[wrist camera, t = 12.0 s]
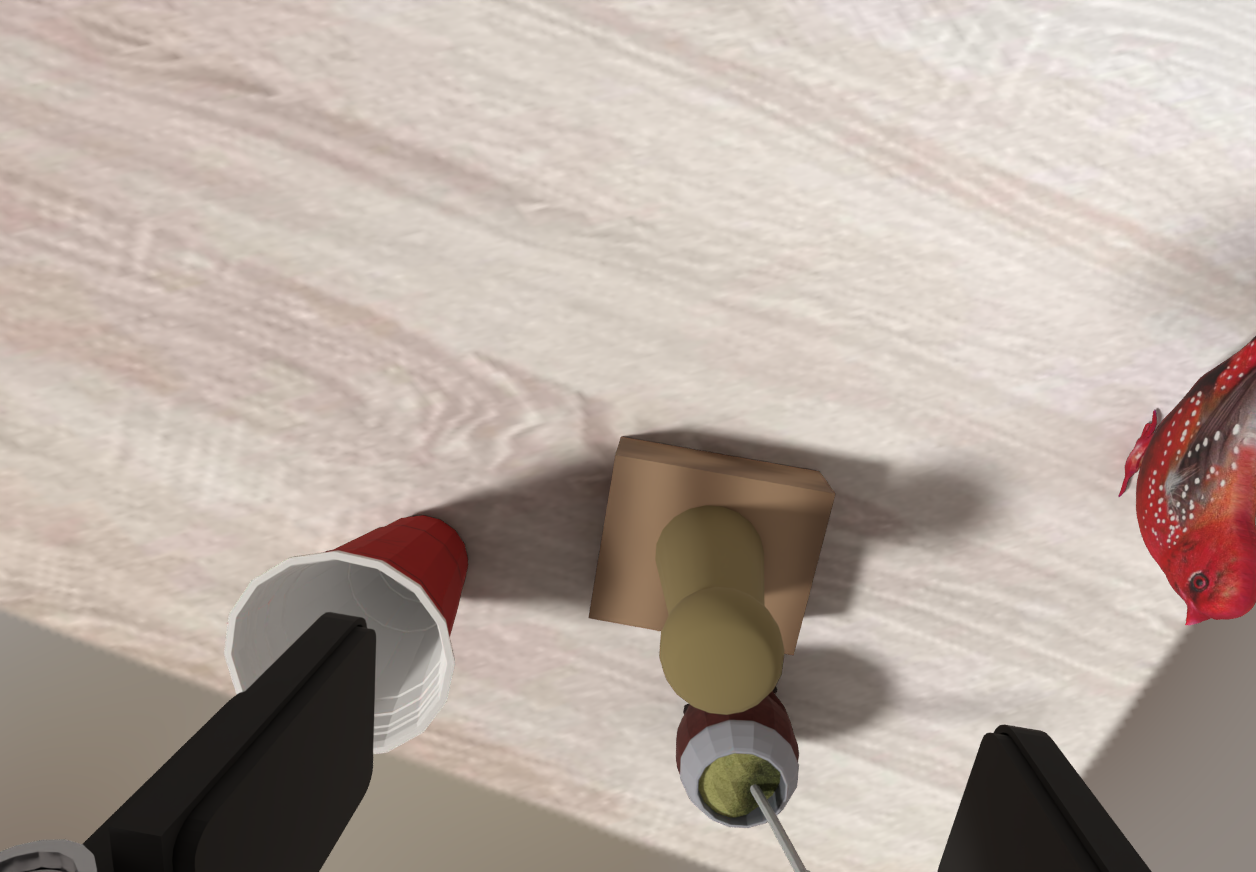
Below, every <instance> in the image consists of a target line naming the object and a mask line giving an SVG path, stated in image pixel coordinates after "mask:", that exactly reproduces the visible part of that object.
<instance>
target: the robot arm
mask: <svg viewBox="0 0 1256 872" xmlns="http://www.w3.org/2000/svg"><path fill="white" fill-rule="evenodd" d="M375 669H376V632H375V630H373V629H370V628H367V623H366V620H365V619H364V618H363V617H357V616H351V615H345V614H339V613H333V612H326V613H324V614H323V615H321V616H320V617H319V618H318V619H317V620H316V621H315V622H314V623H313V624H312V625H311V626H310V627H309V628H308V629H307V630H306V631H305V632H304V633H303V634H302V635H301V636H300V637H299V638H298V639H297V640H296V641H295V642H294V643H293V644H292V645H291V646H290V647H289V648H288V649H287V650H286V651H285V652H284V653H283V654H282V655H281V656H280V657H279V658H278V659H277V660H276V661H275V662H274V663H273V664H272V665H271V666H270V667H269V668H268V669H267V670H266V671H265V672H264V673H263V674H262V675H261V676H260V677H259V678H258V679H257V680H256V681H255V682H254V683H253V684H252V685H251V686H250V687H249V688H248V689H247V690H246V691H244V692H240V693H238V694H237V695H236V696H234V697H233V698H232V699H231V700H229V702H227V703H226V704H225V705H224V706H223V707H222V708H221V709H220V710H219V711H218V712H217V713H216V714H215V715H214V716H213V717H212V718H211V719H210V720H209V721H208V722H207V723H206V724H205V725H204V726H203V727H202V728H201V729H200V730H199V731H198V732H197V733H196V734H195V735H194V736H193V737H191V739H189V740H188V741H187V743H185V744H184V745H183V746H182V747H181V748H180V749H179V750H178V751H177V752H176V753H175V754H174V755H173V756H172V757H171V758H170V759H169V760H168V761H167V762H166V763H165V764H164V765H163V766H162V767H161V768H160V769H159V770H158V771H157V772H156V773H155V774H154V775H153V776H152V777H151V778H150V779H149V780H148V781H146V782H145V783H144V784H143V786H141V787H140V788H139V789H138V790H137V791H136V792H135V793H134V794H133V795H132V796H131V797H130V798H129V799H128V800H127V801H126V802H125V803H124V804H123V805H122V806H121V807H120V808H119V809H118V810H117V811H116V812H115V813H114V814H113V815H112V816H111V817H110V818H109V819H108V820H107V821H106V822H105V823H104V824H103V825H102V826H101V827H100V828H98V829H97V830H96V831H95V832H94V834H92V835H91V836H90V837H89V838H88V839H87V840H86V841H85V842H84V843H83V844H79V843H76V842H72V841H69V840H65V839H61V840H60V839H59V840H39V841H35V842H30V843H26V844H22V845H17V846H14V847H11V848H9V849H6V850H3V851H1V852H0V872H319V870H320V869H321V868H322V866H323V864H324V863H325V861H326V859H327V857H328V856H329V854H330V853H331V851H332V849H333V847H334V846H335V844H336V842H337V841H338V839H339V837H340V836H341V834H342V832H343V831H344V829H345V827H346V825H347V824H348V822H349V820H350V819H351V817H352V816H353V813H354V812H355V811H356V809H357V807H358V805H359V804H360V802H361V800H362V799H363V797H364V795H365V793H366V791H367V789H368V786H369V783H370V780H371V776H372V769H373V743H374V706H375ZM938 872H1151V870H1150V869H1149V868H1148V866H1147V865H1146V864H1145V862H1144V861H1143V860H1142V858H1141V857H1140V856H1139V854H1138V853H1137V852H1136V851H1135V849H1134V848H1133V846H1132V845H1131V844H1130V842H1129V841H1128V840H1127V838H1126V837H1125V836H1124V834H1123V833H1122V832H1121V830H1120V829H1119V828H1118V826H1117V825H1116V824H1115V823H1114V821H1113V820H1112V818H1111V817H1110V816H1109V815H1108V813H1107V812H1106V810H1105V809H1104V808H1103V807H1102V805H1101V804H1100V803H1099V801H1098V800H1097V799H1096V797H1095V796H1094V795H1093V793H1092V792H1091V790H1090V789H1089V788H1088V787H1087V785H1086V784H1085V782H1084V781H1083V780H1082V778H1081V777H1080V776H1079V774H1078V773H1077V772H1076V770H1075V769H1074V768H1073V766H1072V765H1071V764H1070V762H1069V761H1068V760H1067V758H1066V757H1065V756H1064V754H1063V753H1062V752H1061V750H1060V749H1059V748H1058V746H1057V745H1056V744H1055V742H1054V741H1053V740H1052V739H1051V737H1050V736H1049V735H1048V734H1047V733H1045V732H1043V731H1039V730H1033V729H1027V728H1021V727H1015V726H1010V725H1000V726H998V727H997V728H996V729H995V731H994V733H987V734H986V735H984V737H983V739H982V741H981V744H980V747H979V750H978V753H977V756H976V759H975V762H974V765H973V768H972V770H971V773H970V776H969V779H968V782H967V785H966V788H965V791H964V794H963V797H962V800H961V803H960V806H959V809H958V812H957V815H956V818H955V821H954V823H953V826H952V829H951V832H950V835H949V838H948V841H947V844H946V847H945V850H944V853H943V856H942V859H941V862H940V865H939V868H938Z"/></svg>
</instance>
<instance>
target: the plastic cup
mask: <svg viewBox="0 0 1256 872" xmlns="http://www.w3.org/2000/svg"><path fill="white" fill-rule="evenodd" d="M467 567H468V557H467V553H466V548H465V544H464V542H463V541H462V539H461V538H460V537H459V535H458V534H457V532H456V531H455V530H454V529H453V528H452V527H450V526H449V525H447V524H446V523H444V522H443V521H442V520H440V519H436V518H432V517H428V516H424V515H421V516H413V517H406V518H401V519H399V520H397V521H395V522H393V523H391V524H389V525H387V526H385V527H379V528H377V529H375V530H373V531H371V532H369V533H367V534H365V535H363V536H361V537H359V538H356V539H354V540H352V541H350V542H348V543H346V544H344V545H342V546H340V547H338V548H336V549H334V550H330V551H326V552H323V553H316V554H309V555H302V556H295V557H291V558H288V559H286V560H285V561H283V562H281V563H280V564H278V565H276V566H275V567H273V568H271V569H270V570H268V571H266V572H265V573H263V574H261V575H260V576H258V577H256V578H255V579H253V580H251V582H250V583H249V585H248V586H247V588H246V589H245V591H244V592H243V594H242V595H241V597H240V598H239V600H238V601H237V603H236V604H235V606H234V607H233V609H232V610H231V612H230V613H229V618H228V625H227V633H226V641H225V649H224V656H225V659H226V663H227V666H228V669H229V672H230V675H231V678H232V682H233V685H234V688H235V691H236V694H238V693H240V692H244V691H246V690H247V689H248V688H249V687H250V686H251V685H252V684H253V683H254V682H255V681H256V680H257V679H258V678H259V677H260V676H261V675H262V674H263V673H264V672H265V671H266V670H267V669H268V668H269V667H270V666H271V665H272V664H273V663H274V662H275V661H276V660H277V659H278V658H279V657H280V656H281V655H282V654H283V653H284V652H285V651H286V650H287V649H288V648H289V647H290V646H291V645H292V644H293V643H294V642H295V641H296V640H297V639H298V638H299V637H300V636H301V635H302V634H303V633H304V632H305V631H306V630H307V629H308V628H309V627H310V626H311V625H312V624H313V623H314V622H315V621H316V620H317V619H318V618H319V617H320V616H321V615H323V614H324V613H326V612H333V613H339V614H345V615H351V616H357V617H363V618H364V619H365V620H366V623H367V628H370V629H373V630H375V632H376V669H375V706H374V743H373V754H378V753H386V752H389V751H391V750H392V749H394V748H396V747H398V746H400V745H402V744H403V743H405V742H407V741H409V740H411V739H413V738H414V737H416V736H418V735H420V734H422V733H423V732H424V731H425V729H426V728H427V727H428V726H429V724H430V723H431V722H432V720H433V719H434V718H435V716H436V715H437V714H438V713H439V711H440V710H441V709H442V707H443V706H444V705H445V703H446V702H447V698H448V694H449V689H450V684H451V680H452V675H453V670H454V666H455V658H454V654H453V650H452V645H451V641H450V634H451V631H452V627H453V624H454V620H455V616H456V613H457V609H458V606H459V601H460V596H461V591H462V588H463V585H464V582H465V577H466V572H467Z"/></svg>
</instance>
